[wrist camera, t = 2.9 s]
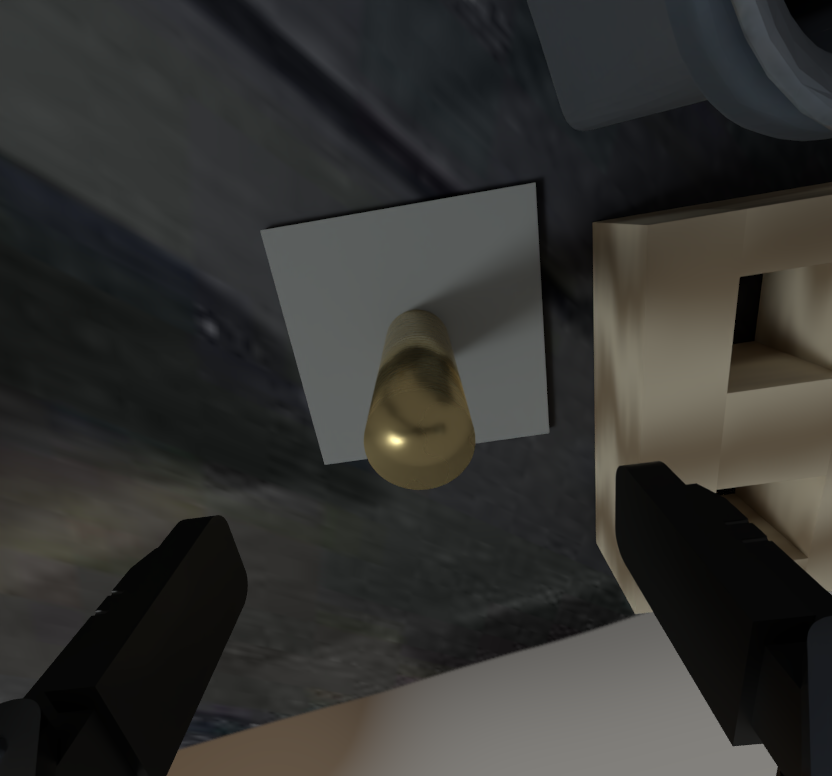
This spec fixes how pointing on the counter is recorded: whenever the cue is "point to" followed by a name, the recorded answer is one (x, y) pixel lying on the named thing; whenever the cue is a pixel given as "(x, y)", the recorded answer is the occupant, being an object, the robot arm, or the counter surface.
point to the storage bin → (692, 61)
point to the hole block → (720, 364)
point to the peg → (418, 407)
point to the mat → (417, 307)
